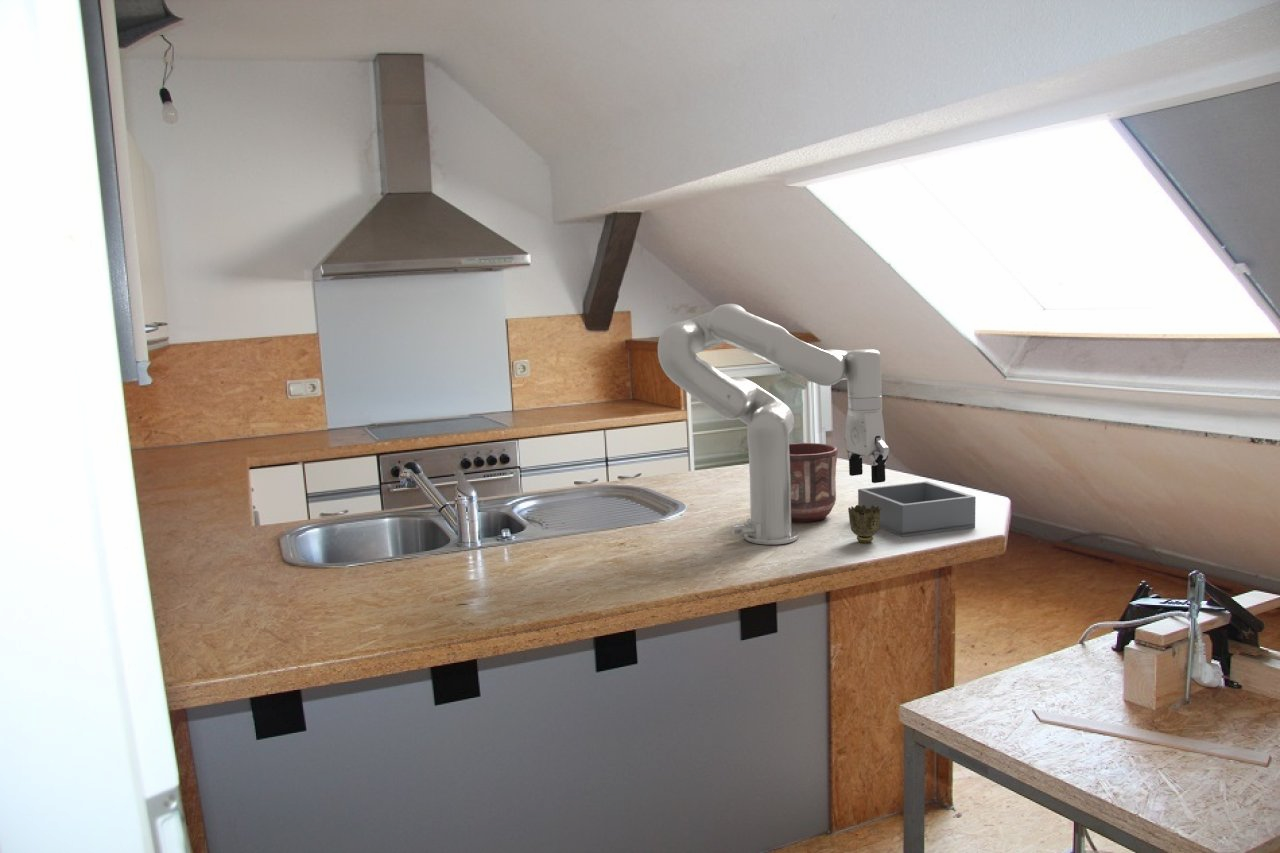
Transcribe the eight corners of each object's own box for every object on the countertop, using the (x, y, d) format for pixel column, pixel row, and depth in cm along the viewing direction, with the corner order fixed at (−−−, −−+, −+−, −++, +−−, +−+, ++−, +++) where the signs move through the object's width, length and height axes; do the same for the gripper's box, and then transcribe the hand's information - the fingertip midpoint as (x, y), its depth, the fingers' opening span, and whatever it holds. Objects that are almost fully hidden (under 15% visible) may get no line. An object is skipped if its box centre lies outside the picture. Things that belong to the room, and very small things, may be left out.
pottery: (818, 529, 235) (817, 456, 232) (755, 520, 245) (754, 451, 243) (849, 513, 249) (848, 445, 246) (788, 506, 259) (787, 440, 257)
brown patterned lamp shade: (844, 544, 221) (844, 510, 220) (853, 536, 227) (852, 503, 226) (876, 547, 217) (876, 512, 216) (884, 539, 224) (884, 505, 223)
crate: (902, 536, 225) (902, 505, 224) (858, 518, 244) (858, 489, 243) (975, 527, 231) (975, 496, 230) (926, 509, 250) (926, 481, 249)
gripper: (831, 402, 224) (833, 474, 227) (870, 409, 208) (872, 487, 211) (859, 399, 227) (861, 470, 229) (900, 406, 210) (902, 483, 213)
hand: (867, 478), depth 220 cm, fingers open, 9 cm apart
